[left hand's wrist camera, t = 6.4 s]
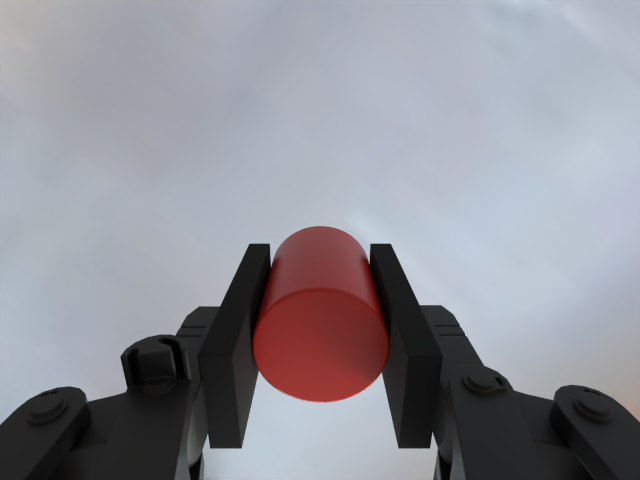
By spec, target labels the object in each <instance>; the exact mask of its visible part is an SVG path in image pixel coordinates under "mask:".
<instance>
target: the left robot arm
mask: <svg viewBox="0 0 640 480" xmlns="http://www.w3.org/2000/svg"><path fill="white" fill-rule="evenodd" d="M369 266H370V269H371V273H372V276H373V280H374V283H375V287H376V290H377V294H378V297H379V301H380V304H381V308H382V311H383V315H384V318H385V322H386V325H387V329H388V333H389V338H390V344H389V355H388V359H387V362H386V365H385V367H384V369H383V370H382V375H383V380H384V384H385V389H386V393H387V398H388V402H389V407H390V411H391V416H392V420H393V425H394V429H395V434H396V438H397V443H398V447H399V448H430V445H431V438H432V431H433V434H434V437H435V440H436V443H437V446H438V453H437V459H436V466H435V472H434V479H433V480H640V422H639V421H638V420H637V419H636V418H635V417H634V416H633V415H632V414H631V413H630V412H629V411H628V410H627V409H626V408H624V407H623V406H622V405H621V404H619V403H618V402H617V401H616V400H614V399H613V398H611V397H609V396H607V395H606V394H604V393H602V392H600V391H598V390H594V389H591V388H588V387H585V386H577V385H568V386H563V387H560V388H559V389H558V390H557V391H556V392H555V396H554V399H553V400H549V399H545V398H541V397H536V396H532V395H527V394H524V393H521V392H517V391H515V390H513V388H512V386H511V385H510V383H509V382H508V380H507V379H506V378H505V377H503V376H502V375H501V374H500V373H498V372H497V371H495V370H492V369H490V368H488V367H486V366H484V365H483V363H482V361H481V360H480V358H479V356H478V355H477V353H476V351H475V350H474V348H473V346H472V345H471V343H470V341H469V340H468V338H467V336H465V333H464V331H463V330H462V328H461V327H460V325H459V323H458V321H457V320H456V318H455V316H454V315H453V314H452V313H451V312H449V311H448V310H447V309H445V308H444V307H443V306H441V305H419V303H418V301H417V299H416V297H415V295H414V293H413V290H412V288H411V286H410V284H409V282H408V280H407V278H406V275H405V273H404V271H403V269H402V267H401V265H400V263H399V260H398V258H397V256H396V254H395V252H394V250H393V248H392V246H391V244H371V246H370V265H369ZM270 270H271V260H270V244H249V246H248V248H247V250H246V253H245V255H244V257H243V259H242V261H241V263H240V265H239V267H238V270H237V272H236V274H235V276H234V278H233V280H232V282H231V285H230V287H229V289H228V291H227V293H226V295H225V297H224V299H223V302H222V304H221V306H220V307H198V308H197V309H195V310H194V311H193V312H191V313H190V314H189V315H187V317H186V318H185V320H184V322H183V323H182V325H181V329H179V330H178V332H177V334H176V335H175V336H174V335H156V336H151V337H147V338H145V339H142V340H140V341H138V342H136V343H134V344H133V345H131V346H130V347H128V348H127V349H126V350H125V351H124V353H123V354H122V355H121V362H122V366H123V370H124V375H125V379H126V383H127V391H126V392H125V393H122V394H118V395H115V396H111V397H107V398H102V399H98V400H93V401H89V402H87V398H86V395H85V393H84V392H83V391H82V390H81V389H80V388H75V387H60V388H55V389H52V390H48V391H45V392H42V393H40V394H38V395H37V396H35V397H33V398H31V399H29V400H27V401H26V402H25V403H24V404H22V405H21V406H20V407H18V408H17V409H16V410H15V411H14V412H13V413H12V414H11V415H10V416H9V417H8V418H7V419H6V420H5V421H4V422H3V423H2V424H1V425H0V480H203V474H204V459H203V453H202V449H203V446H204V443H205V440H206V437H207V434H208V436H209V443H210V448H242V444H243V440H244V435H245V430H246V426H247V421H248V417H249V412H250V408H251V403H252V399H253V394H254V390H255V385H256V381H257V376H258V372H259V369H258V367H257V365H256V363H255V361H254V357H253V353H252V336H253V331H254V327H255V324H256V320H257V316H258V313H259V309H260V306H261V302H262V298H263V295H264V291H265V288H266V284H267V281H268V277H269V273H270Z"/></svg>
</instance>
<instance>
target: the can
mask: <svg viewBox="0 0 640 480" xmlns="http://www.w3.org/2000/svg"><path fill="white" fill-rule="evenodd" d="M389 344H390V338H389V333H388V329H387V325H386V322H385V318H384V315H383V311H382V308H381V304H380V301H379V297H378V294H377V290H376V287H375V283H374V280H373V276H372V273H371V269H370V266H369V262H368V258H367V256H366V253H365V251H364V249H363V248H362V246H361V245H360V244H359V243H358V241H356V240H355V239H354V238H353V237H352V236H350V235H349V234H347V233H346V232H344V231H342V230H339V229H336V228H332V227H325V226H315V227H309V228H306V229H302V230H300V231H298V232H296V233H294V234H292V235H291V236H289V237H288V238H287V239H286V240H285V241H284V242H283V243H282V244H281V245H280V247H279V248H278V250H277V252H276V254H275V256H274V259H273V263H272V266H271V270H270V273H269V277H268V281H267V284H266V288H265V291H264V295H263V298H262V302H261V306H260V309H259V313H258V316H257V320H256V324H255V327H254V331H253V336H252V353H253V357H254V361H255V363H256V365H257V367H258V369H259V371H260V373H261V374H262V376H263V377H264V378H265V379H266V380H267V381H268V382H269V383H270V384H271V385H272V386H273V387H274V388H276V389H277V390H279V391H280V392H282V393H284V394H286V395H288V396H290V397H293V398H296V399H299V400H303V401H308V402H318V403H319V402H333V401H339V400H343V399H346V398H349V397H352V396H354V395H356V394H358V393H360V392H361V391H363V390H364V389H366V388H367V387H368V386H370V385H371V384H372V383H373V382H374V381H375V380H376V379H377V378H378V376H379V375H380V374H381V372H382V370H383V369H384V367H385V365H386V362H387V359H388V355H389Z"/></svg>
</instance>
